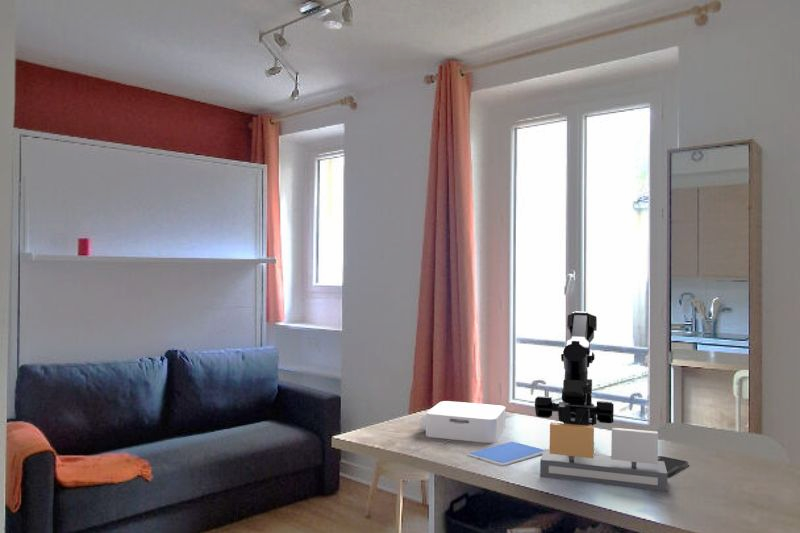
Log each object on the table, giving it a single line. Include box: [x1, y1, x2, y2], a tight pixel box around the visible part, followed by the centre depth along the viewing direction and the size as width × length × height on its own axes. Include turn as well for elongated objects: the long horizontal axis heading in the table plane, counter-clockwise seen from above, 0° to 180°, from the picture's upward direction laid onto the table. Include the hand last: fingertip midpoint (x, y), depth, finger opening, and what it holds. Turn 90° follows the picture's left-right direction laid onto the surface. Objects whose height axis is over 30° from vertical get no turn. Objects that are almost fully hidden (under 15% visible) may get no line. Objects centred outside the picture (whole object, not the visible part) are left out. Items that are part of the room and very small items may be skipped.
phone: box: [658, 455, 689, 478], centre depth 163 cm, size 8×1×15 cm
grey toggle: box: [610, 427, 659, 466], centre depth 149 cm, size 2×10×8 cm, turn 71°
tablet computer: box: [466, 441, 545, 467], centre depth 172 cm, size 19×13×1 cm, turn 132°
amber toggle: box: [549, 422, 595, 460], centre depth 153 cm, size 2×10×8 cm, turn 72°
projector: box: [420, 400, 507, 444], centre depth 196 cm, size 21×22×7 cm
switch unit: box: [539, 448, 668, 492], centre depth 154 cm, size 10×28×4 cm, turn 72°
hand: (571, 439), depth 154 cm, fingers closed, pressing on amber toggle
